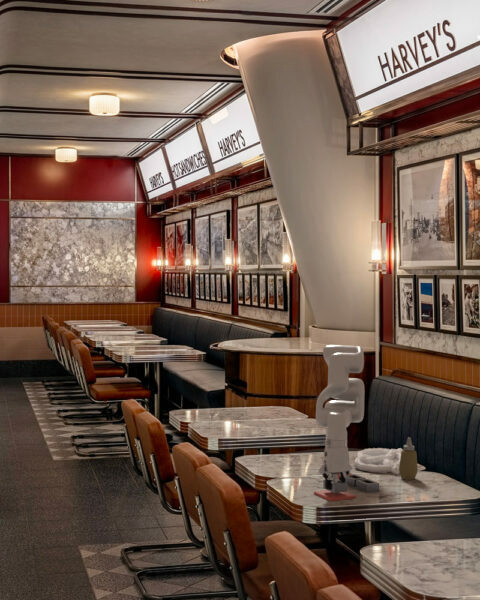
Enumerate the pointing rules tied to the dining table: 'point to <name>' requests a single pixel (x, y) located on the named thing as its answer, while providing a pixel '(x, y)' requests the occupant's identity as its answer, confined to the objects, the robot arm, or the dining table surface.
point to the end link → (337, 486)
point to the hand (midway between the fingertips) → (335, 487)
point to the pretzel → (378, 460)
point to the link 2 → (367, 485)
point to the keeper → (334, 496)
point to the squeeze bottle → (408, 462)
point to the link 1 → (353, 480)
